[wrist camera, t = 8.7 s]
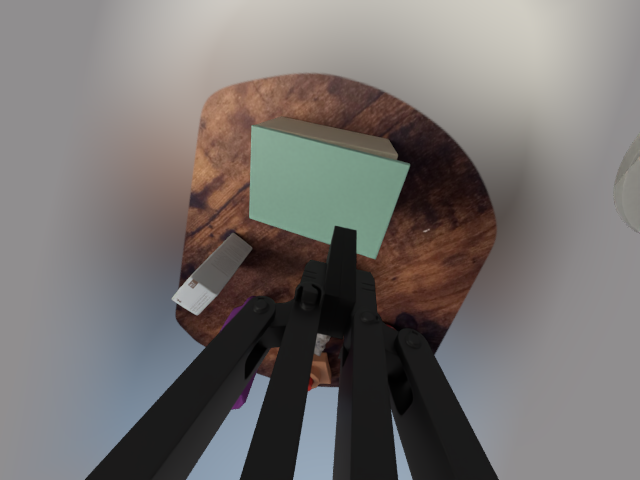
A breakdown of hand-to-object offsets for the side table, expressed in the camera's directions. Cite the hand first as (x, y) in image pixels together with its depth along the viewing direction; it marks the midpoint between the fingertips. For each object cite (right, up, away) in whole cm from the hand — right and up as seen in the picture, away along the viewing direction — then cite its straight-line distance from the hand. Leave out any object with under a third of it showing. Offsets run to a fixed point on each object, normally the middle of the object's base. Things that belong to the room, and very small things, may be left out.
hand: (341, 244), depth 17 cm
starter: (-4, -28, +39) cm, 48 cm away
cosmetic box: (-16, -1, +25) cm, 30 cm away
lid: (-2, +5, +7) cm, 9 cm away
